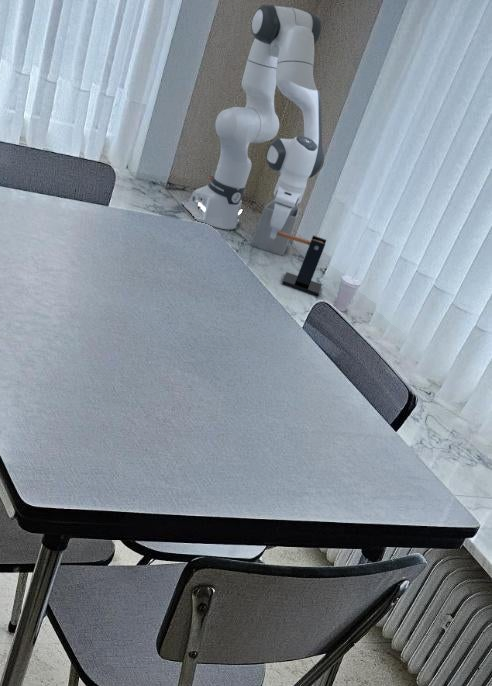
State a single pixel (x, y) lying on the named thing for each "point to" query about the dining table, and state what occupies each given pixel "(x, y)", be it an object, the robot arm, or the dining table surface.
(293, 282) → the bracket
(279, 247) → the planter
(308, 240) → the lever
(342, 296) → the smoothie
